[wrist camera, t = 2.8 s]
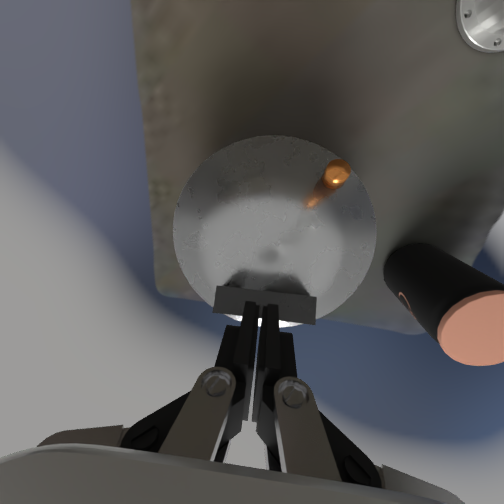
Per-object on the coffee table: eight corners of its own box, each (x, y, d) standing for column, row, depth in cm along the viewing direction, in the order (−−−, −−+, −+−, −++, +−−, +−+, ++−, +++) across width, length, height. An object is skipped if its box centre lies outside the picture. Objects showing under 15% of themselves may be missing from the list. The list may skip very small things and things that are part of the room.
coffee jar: (368, 274, 46) (420, 340, 29) (409, 230, 42) (496, 276, 25) (411, 301, 47) (485, 379, 30) (455, 260, 43) (567, 323, 27)
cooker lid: (194, 136, 29) (186, 116, 26) (371, 149, 27) (384, 130, 24) (159, 313, 24) (145, 313, 21) (371, 339, 23) (387, 343, 20)
